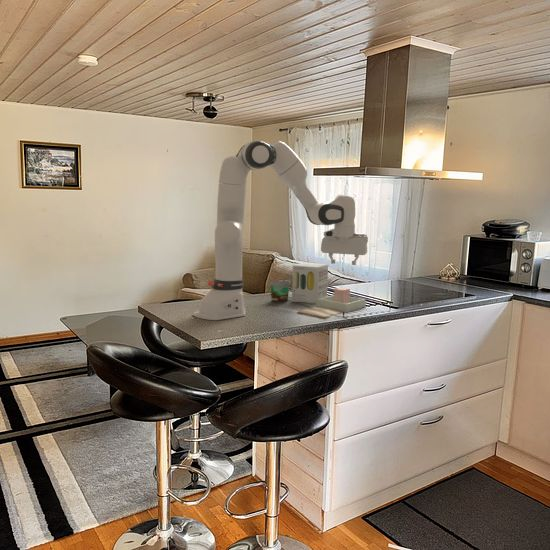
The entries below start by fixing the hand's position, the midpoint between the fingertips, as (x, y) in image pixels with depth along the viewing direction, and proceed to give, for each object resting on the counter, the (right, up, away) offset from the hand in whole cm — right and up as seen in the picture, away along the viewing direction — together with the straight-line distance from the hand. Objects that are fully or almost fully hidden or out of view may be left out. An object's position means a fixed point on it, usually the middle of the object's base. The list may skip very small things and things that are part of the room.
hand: (343, 264), depth 222 cm
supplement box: (-14, -17, +16) cm, 28 cm away
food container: (-26, -17, +16) cm, 35 cm away
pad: (-11, -21, -9) cm, 25 cm away
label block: (0, -19, +3) cm, 19 cm away
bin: (0, -19, +3) cm, 20 cm away
